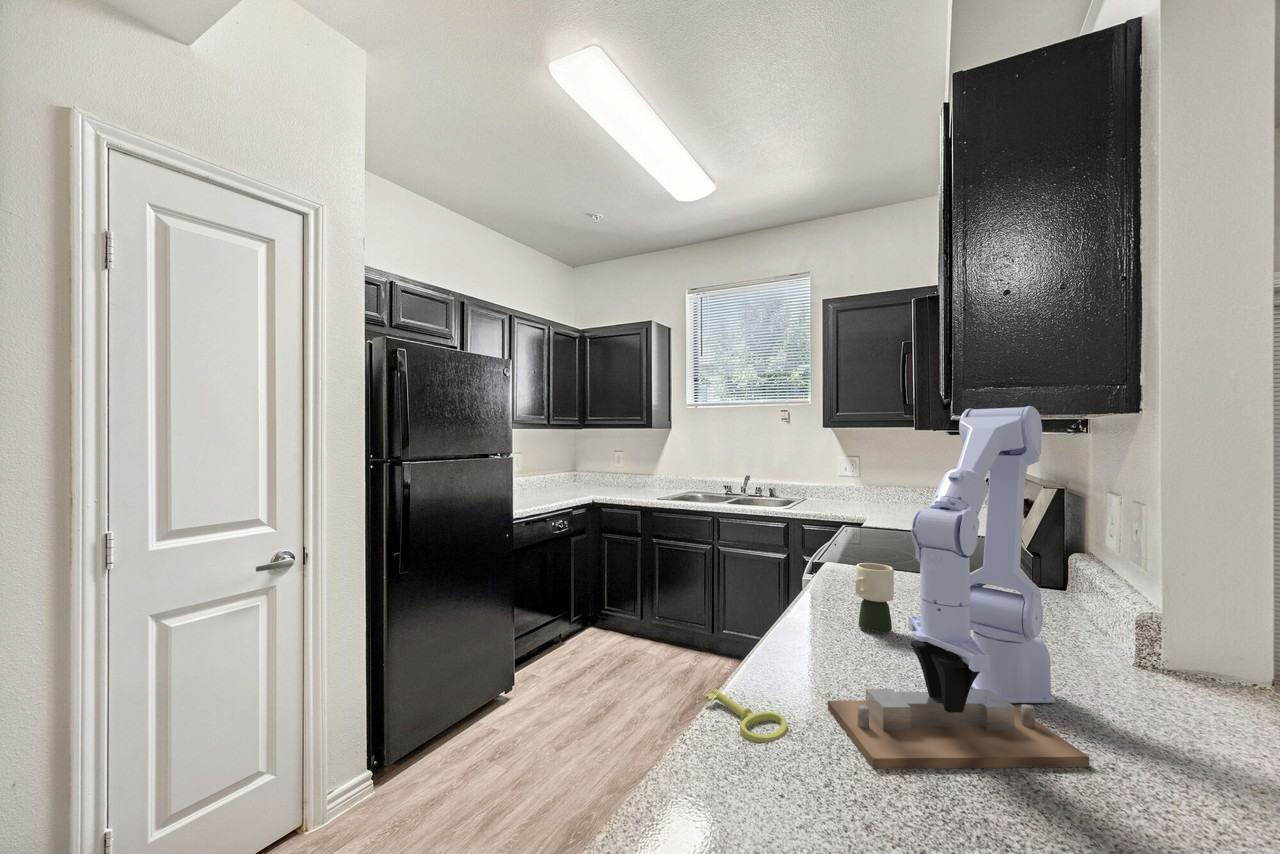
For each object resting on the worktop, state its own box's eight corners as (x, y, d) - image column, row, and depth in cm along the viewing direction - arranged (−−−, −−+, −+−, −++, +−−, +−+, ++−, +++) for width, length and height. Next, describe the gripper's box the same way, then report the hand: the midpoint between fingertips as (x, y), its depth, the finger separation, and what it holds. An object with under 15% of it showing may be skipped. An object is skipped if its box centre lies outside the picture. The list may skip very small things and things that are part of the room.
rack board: (1005, 708, 77) (1004, 682, 77) (1089, 766, 63) (1088, 736, 63) (828, 709, 76) (827, 683, 76) (873, 768, 62) (872, 737, 62)
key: (713, 700, 79) (713, 686, 80) (793, 728, 72) (793, 712, 72) (688, 721, 74) (688, 705, 74) (772, 752, 66) (772, 735, 66)
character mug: (878, 621, 115) (877, 560, 115) (908, 631, 108) (907, 567, 109) (842, 629, 110) (841, 565, 110) (871, 640, 103) (871, 573, 104)
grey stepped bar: (988, 710, 74) (988, 688, 74) (1014, 730, 69) (1014, 706, 69) (866, 711, 73) (865, 689, 74) (883, 730, 68) (883, 707, 69)
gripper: (887, 585, 77) (888, 679, 77) (948, 618, 63) (949, 734, 62) (935, 585, 78) (936, 679, 77) (1006, 618, 63) (1008, 734, 63)
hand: (945, 704), depth 70 cm, fingers open, 3 cm apart
